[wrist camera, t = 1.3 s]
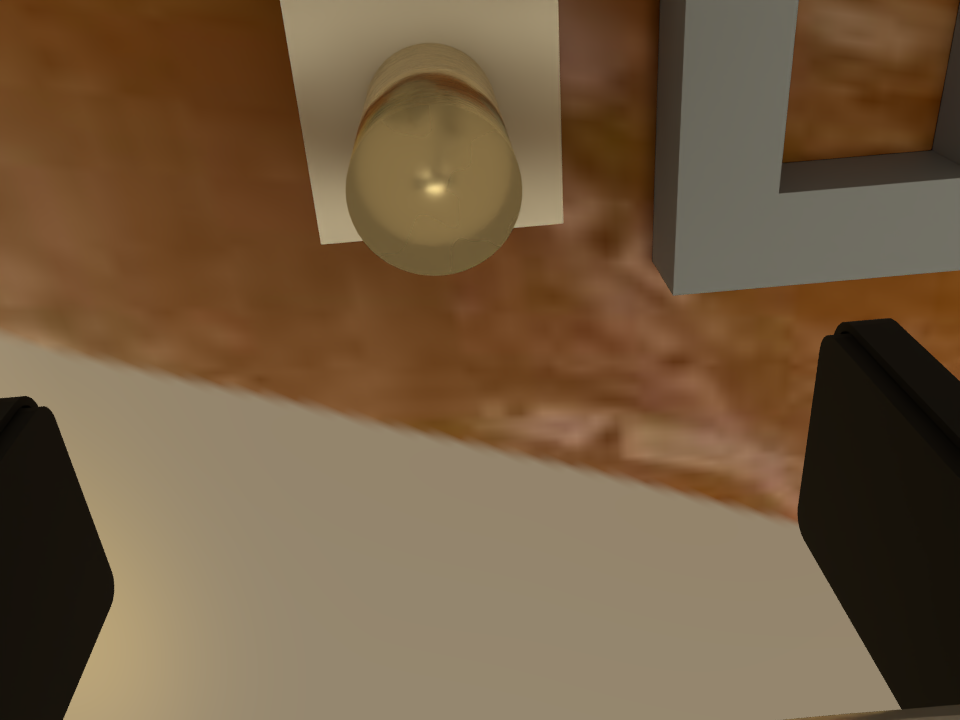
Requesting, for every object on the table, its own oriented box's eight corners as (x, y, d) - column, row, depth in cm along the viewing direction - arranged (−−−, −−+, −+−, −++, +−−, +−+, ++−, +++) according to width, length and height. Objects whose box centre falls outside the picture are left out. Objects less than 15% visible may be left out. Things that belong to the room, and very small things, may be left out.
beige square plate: (286, -27, 26) (276, -20, 25) (548, -48, 27) (557, -42, 25) (327, 223, 30) (321, 244, 29) (555, 203, 30) (563, 223, 29)
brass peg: (357, 48, 26) (332, 112, 19) (491, 37, 26) (517, 97, 19) (374, 180, 28) (358, 282, 21) (499, 169, 28) (526, 268, 21)
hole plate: (664, -152, 25) (695, -155, 23) (1102, -186, 26) (1185, -194, 23) (652, 261, 32) (674, 297, 29) (1003, 230, 32) (1058, 264, 29)
